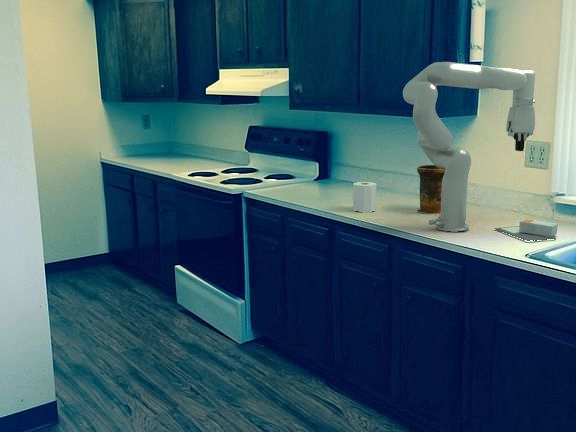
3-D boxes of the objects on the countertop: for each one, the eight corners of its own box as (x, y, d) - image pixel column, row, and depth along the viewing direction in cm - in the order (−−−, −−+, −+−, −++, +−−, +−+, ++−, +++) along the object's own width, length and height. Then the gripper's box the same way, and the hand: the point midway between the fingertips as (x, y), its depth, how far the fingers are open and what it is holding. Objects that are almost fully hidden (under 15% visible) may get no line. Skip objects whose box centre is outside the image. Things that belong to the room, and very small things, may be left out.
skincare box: (525, 218, 239) (558, 223, 231) (524, 229, 240) (556, 234, 232) (519, 220, 234) (552, 226, 227) (518, 232, 235) (551, 237, 228)
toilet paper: (378, 212, 274) (378, 185, 271) (354, 213, 274) (354, 185, 271) (373, 207, 284) (374, 181, 281) (351, 208, 283) (351, 181, 281)
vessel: (442, 216, 265) (443, 169, 261) (411, 213, 273) (411, 167, 269) (455, 210, 276) (456, 165, 272) (425, 207, 284) (425, 163, 280)
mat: (527, 242, 223) (527, 240, 223) (494, 229, 242) (494, 228, 242) (556, 240, 226) (556, 238, 226) (521, 227, 245) (521, 225, 245)
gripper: (532, 102, 247) (529, 148, 251) (500, 103, 243) (497, 150, 247) (545, 103, 240) (541, 151, 244) (511, 104, 236) (508, 152, 240)
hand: (519, 150), depth 246 cm, fingers closed
